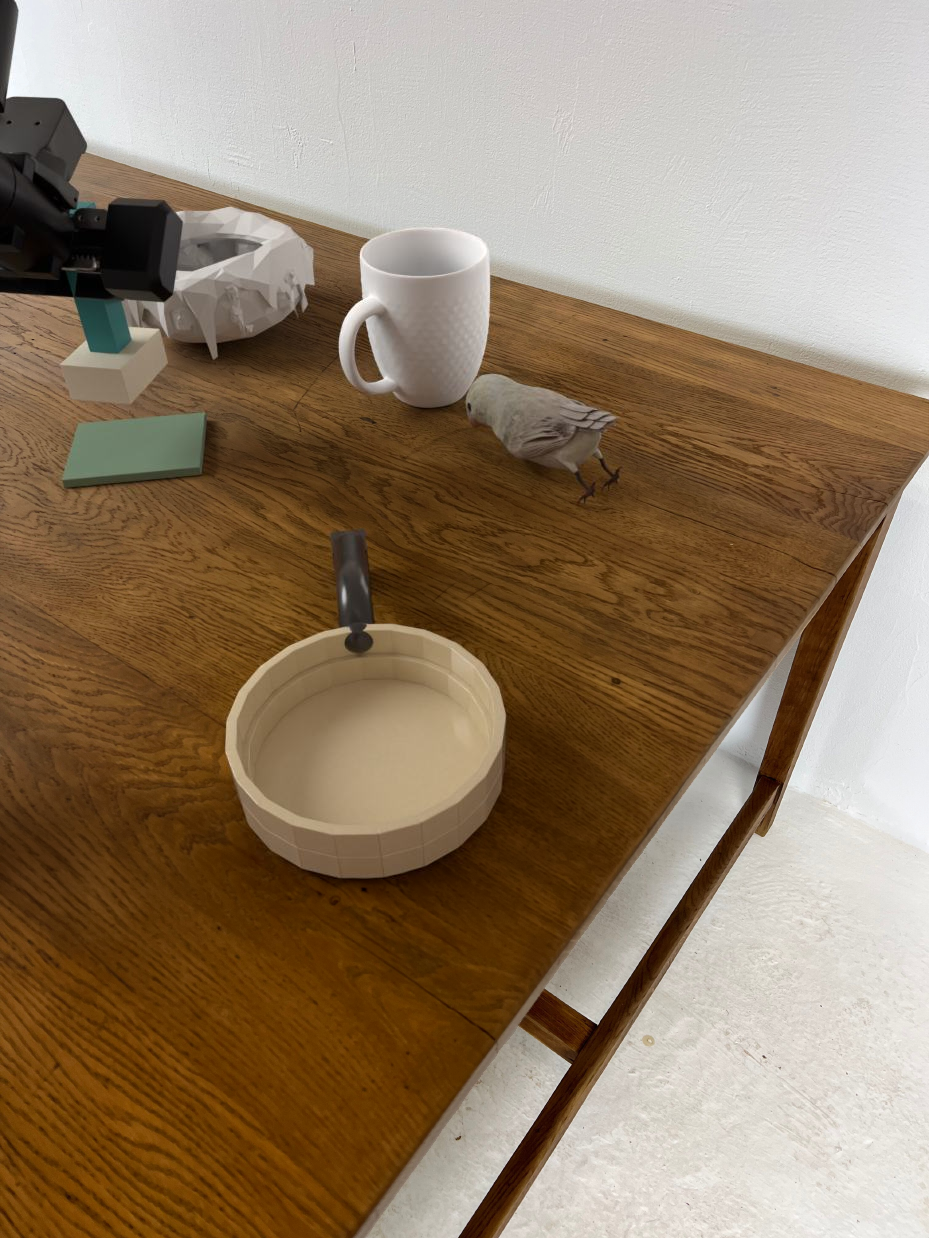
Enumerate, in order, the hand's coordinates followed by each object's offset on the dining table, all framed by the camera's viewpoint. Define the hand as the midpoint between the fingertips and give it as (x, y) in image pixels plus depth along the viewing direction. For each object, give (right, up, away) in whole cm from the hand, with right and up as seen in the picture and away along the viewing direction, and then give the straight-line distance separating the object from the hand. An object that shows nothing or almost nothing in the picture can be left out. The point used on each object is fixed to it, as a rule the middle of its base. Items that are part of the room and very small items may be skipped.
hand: (106, 293), depth 72 cm
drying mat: (0, -11, +8) cm, 13 cm away
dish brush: (0, -6, +4) cm, 7 cm away
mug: (+24, -4, +15) cm, 28 cm away
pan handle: (+20, -26, -9) cm, 34 cm away
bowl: (+2, +5, +25) cm, 26 cm away
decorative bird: (+33, -12, +6) cm, 36 cm away
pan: (+22, -34, -17) cm, 44 cm away
